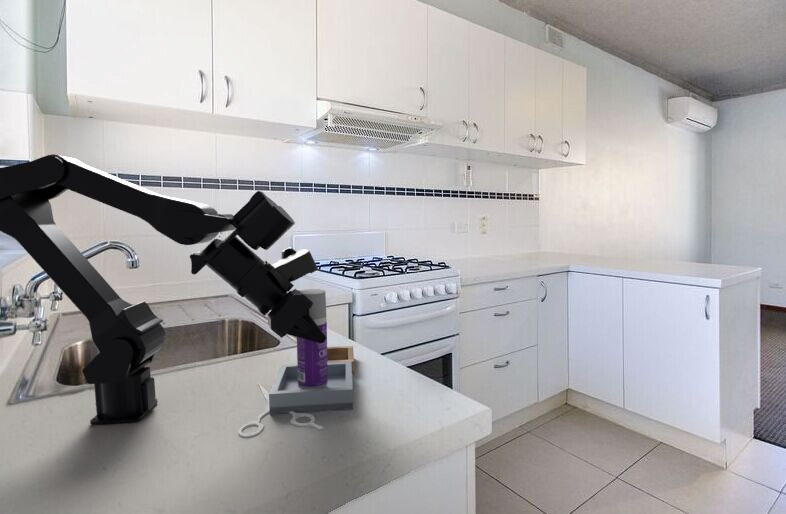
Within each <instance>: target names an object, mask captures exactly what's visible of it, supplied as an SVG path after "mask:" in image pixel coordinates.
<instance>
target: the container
mask: <svg viewBox="0 0 786 514" xmlns="http://www.w3.org/2000/svg"><path fill="white" fill-rule="evenodd" d="M299 291H300V292H302V293H303V294H304V295H305V296H306V297H307V298H308V299H309V300H311V301H312V302H313V305H312V307H311V308H310V309H309V314H310V316H311V318H312V319H313V320H314V322H315V323H316V324H317V326H318V327H319V328H320V330H321V331H322V332H323V334H324V335H325V337H326V340H325V341H324V342H323V343H318V342H314V341H310V340H307V339H303V338H299V337H296V359H297V360H296V361H297V363H296V364H297V369H298V387H299V388H301V389H320V388H323V387H325V386H326V385H327V383H328V375H327V347H328V327H327V326H328V325H327V324H328V322H327V320H328V319H327V318H328V317H327V300H326V299H327V297H326V296H327V295H326V290H324V289H318V288H316V289H314V288H312V289H311V288H310V289H301V290H299Z"/></svg>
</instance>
